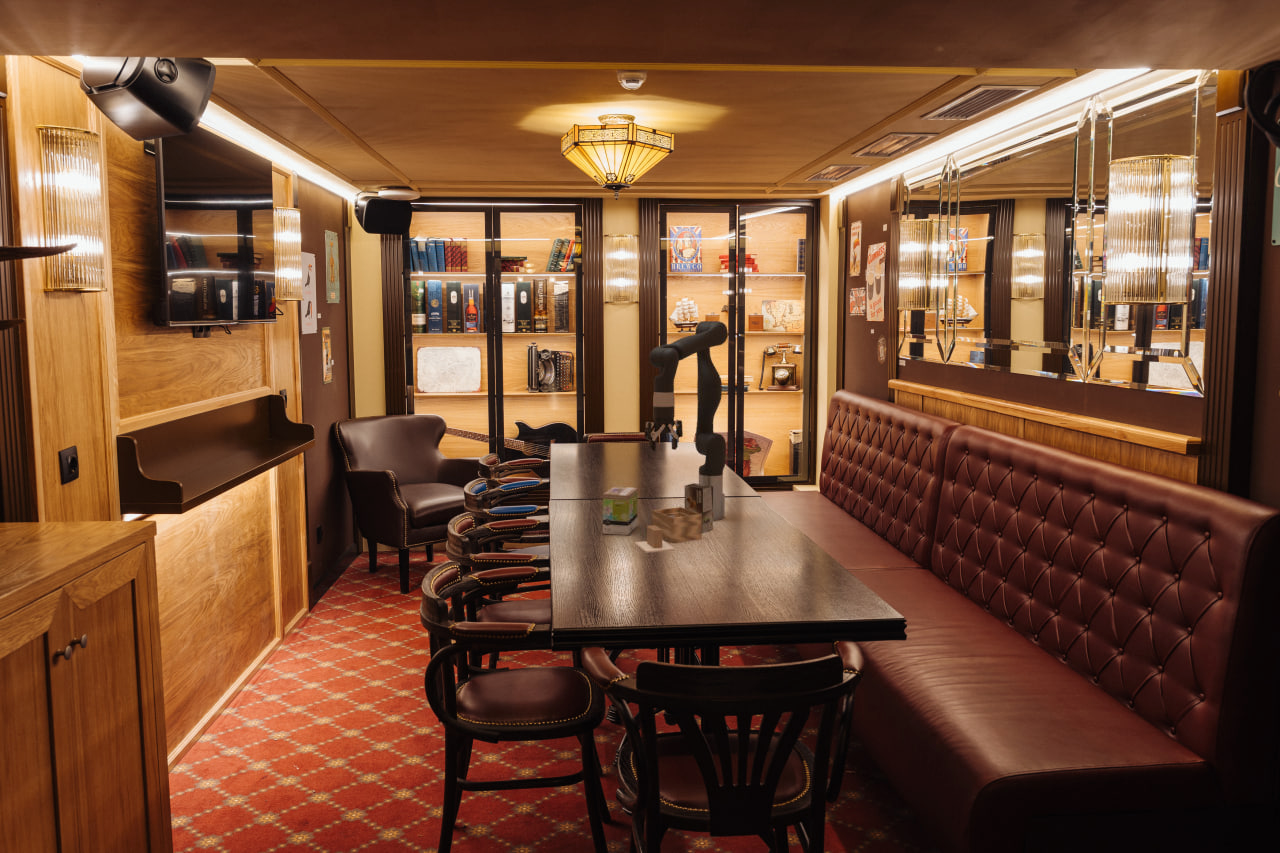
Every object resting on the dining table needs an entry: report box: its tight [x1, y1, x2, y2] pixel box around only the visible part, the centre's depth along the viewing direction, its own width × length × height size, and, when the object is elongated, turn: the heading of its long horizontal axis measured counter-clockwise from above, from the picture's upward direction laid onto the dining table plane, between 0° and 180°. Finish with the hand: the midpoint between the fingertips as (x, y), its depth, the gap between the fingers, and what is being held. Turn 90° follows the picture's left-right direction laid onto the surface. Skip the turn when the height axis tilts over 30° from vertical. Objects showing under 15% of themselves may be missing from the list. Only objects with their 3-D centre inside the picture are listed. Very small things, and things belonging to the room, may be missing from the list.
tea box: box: [602, 486, 639, 536], centre depth 321 cm, size 15×10×15 cm, turn 168°
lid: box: [634, 524, 675, 554], centre depth 297 cm, size 10×12×7 cm
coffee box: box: [684, 482, 714, 533], centre depth 322 cm, size 9×6×16 cm
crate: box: [651, 506, 703, 544], centre depth 312 cm, size 12×14×9 cm
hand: (663, 450), depth 313 cm, fingers open, 8 cm apart
